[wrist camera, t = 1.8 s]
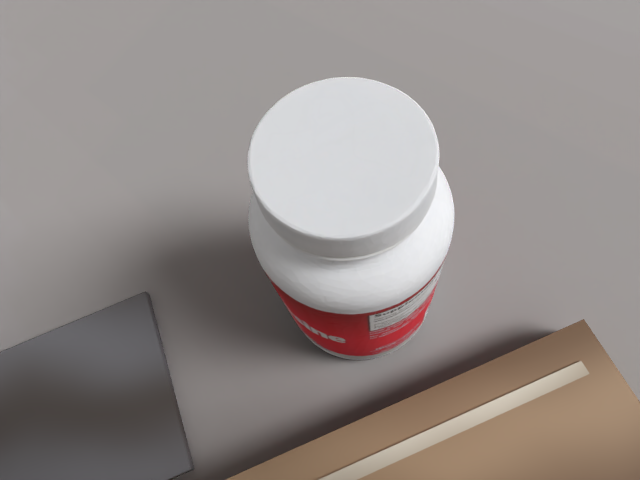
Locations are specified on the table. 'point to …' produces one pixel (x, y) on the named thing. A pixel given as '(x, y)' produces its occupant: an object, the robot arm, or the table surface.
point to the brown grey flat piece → (333, 448)
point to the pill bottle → (350, 213)
